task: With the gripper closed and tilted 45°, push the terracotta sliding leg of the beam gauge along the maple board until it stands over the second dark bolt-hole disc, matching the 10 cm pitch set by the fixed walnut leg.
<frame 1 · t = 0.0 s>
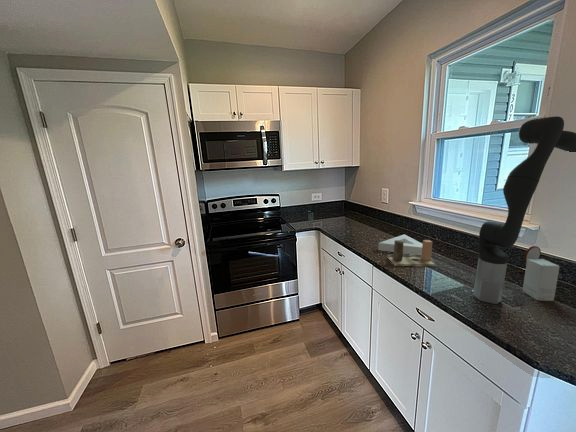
fixed leg: (397, 262, 144), resting on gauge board
magnifying glass: (526, 288, 113), on the worktop
skincare box: (536, 296, 106), on the worktop
triangle block: (403, 248, 168), on the worktop
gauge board: (409, 262, 144), on the worktop
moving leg: (425, 249, 143), point 7 cm above the worktop, slide at 0.0 cm
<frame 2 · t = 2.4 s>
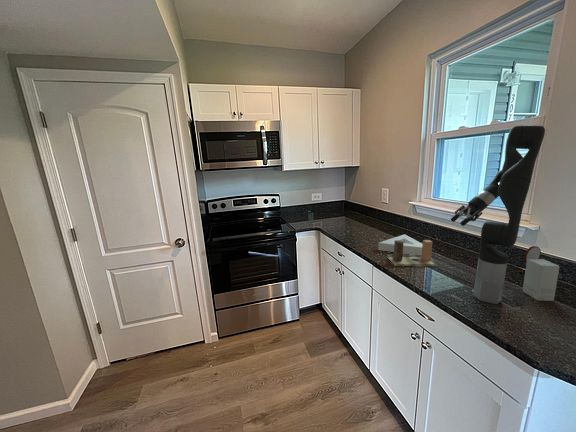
hand: (456, 222, 133), 25 cm above the worktop, tool tilted 45°, fingers open, 8 cm apart
nothing on the worktop moved.
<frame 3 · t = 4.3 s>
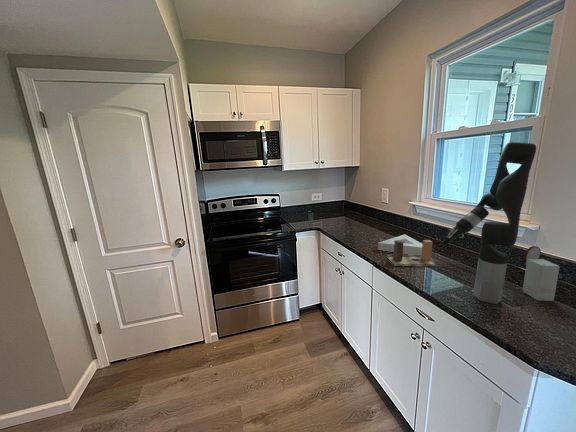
hand: (443, 243, 141), 11 cm above the worktop, tool tilted 45°, fingers closed
nothing on the worktop moved.
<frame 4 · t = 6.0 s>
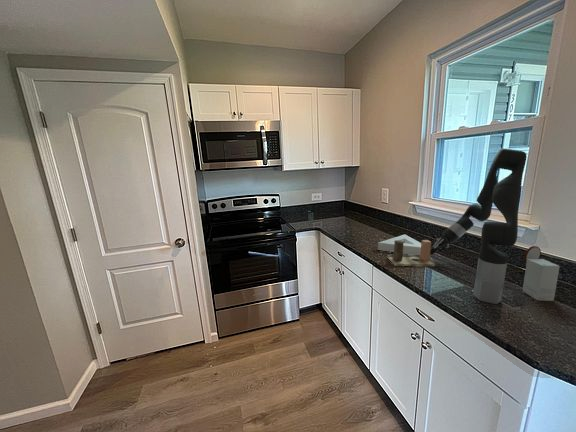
hand: (429, 253, 142), 5 cm above the worktop, tool tilted 45°, fingers closed
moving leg: (424, 249, 143), point 7 cm above the worktop, slide at 0.8 cm, touching gripper
everything else where it was.
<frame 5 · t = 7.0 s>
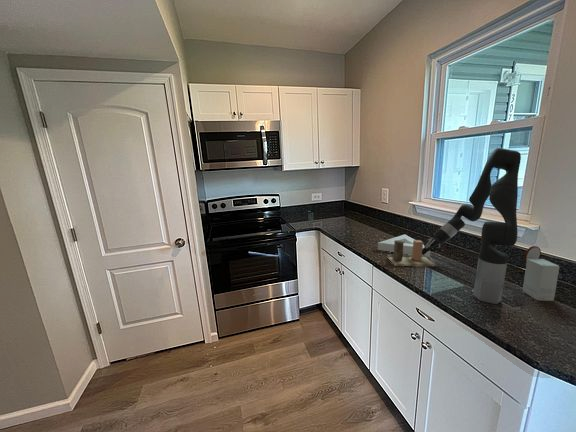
hand: (421, 253, 143), 5 cm above the worktop, tool tilted 45°, fingers closed
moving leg: (416, 249, 143), point 7 cm above the worktop, slide at 5.3 cm, touching gripper
everything else where it was.
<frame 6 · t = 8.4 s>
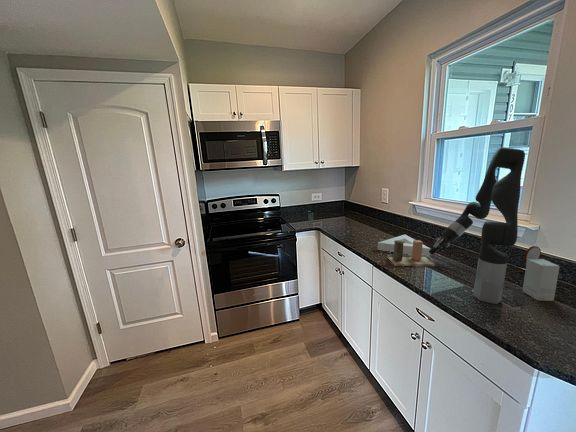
hand: (430, 253, 142), 6 cm above the worktop, tool tilted 45°, fingers closed
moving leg: (416, 249, 143), point 7 cm above the worktop, slide at 5.4 cm
everything else where it was.
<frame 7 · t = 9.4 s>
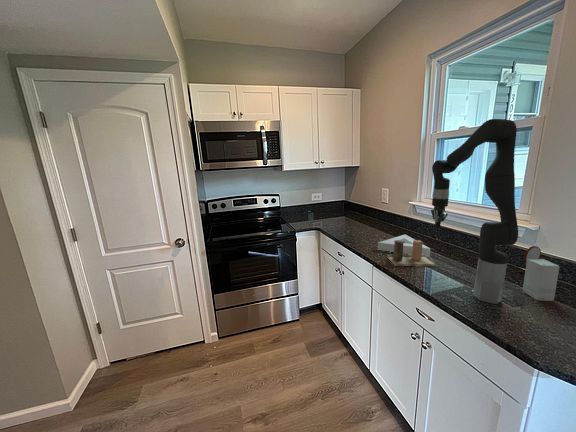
hand: (437, 227, 139), 21 cm above the worktop, tool pointing down, fingers closed
nothing on the worktop moved.
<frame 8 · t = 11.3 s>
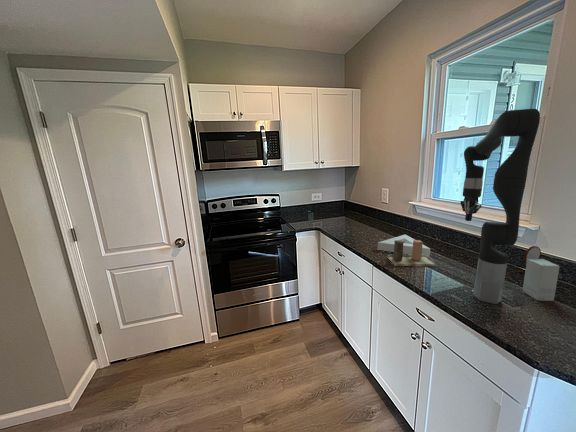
hand: (468, 220, 127), 27 cm above the worktop, tool pointing down, fingers closed
nothing on the worktop moved.
at the end: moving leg slide at 5.4 cm; the gripper is holding nothing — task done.
